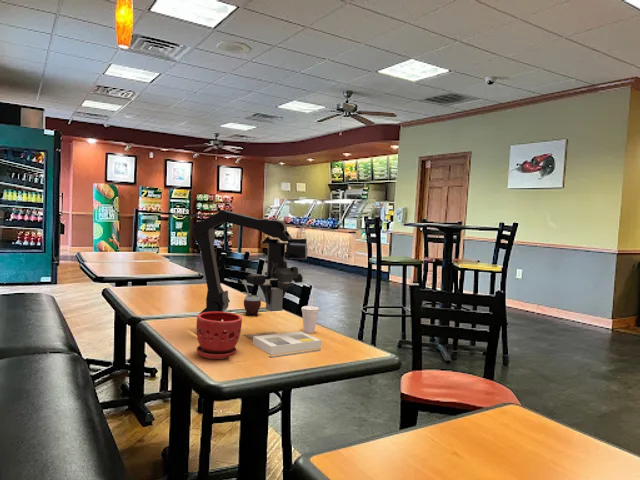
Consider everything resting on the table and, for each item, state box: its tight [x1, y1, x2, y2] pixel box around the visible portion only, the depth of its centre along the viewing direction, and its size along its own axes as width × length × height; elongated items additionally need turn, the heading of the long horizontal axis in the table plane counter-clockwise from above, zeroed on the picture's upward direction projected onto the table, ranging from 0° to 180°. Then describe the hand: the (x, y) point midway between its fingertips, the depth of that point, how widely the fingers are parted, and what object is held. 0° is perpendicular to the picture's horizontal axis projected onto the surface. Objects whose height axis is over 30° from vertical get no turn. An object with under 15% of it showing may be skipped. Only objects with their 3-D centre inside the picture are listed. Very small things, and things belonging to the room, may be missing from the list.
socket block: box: [252, 330, 322, 359], centre depth 151 cm, size 18×12×4 cm, turn 125°
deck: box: [243, 331, 279, 341], centre depth 161 cm, size 12×9×1 cm
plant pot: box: [196, 311, 243, 360], centre depth 141 cm, size 13×13×12 cm
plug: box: [265, 287, 284, 312], centre depth 159 cm, size 4×4×7 cm
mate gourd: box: [239, 279, 262, 317], centre depth 196 cm, size 8×8×15 cm
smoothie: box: [301, 295, 320, 334], centre depth 171 cm, size 6×6×14 cm
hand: (274, 303), depth 159 cm, fingers closed on plug, 4 cm apart
